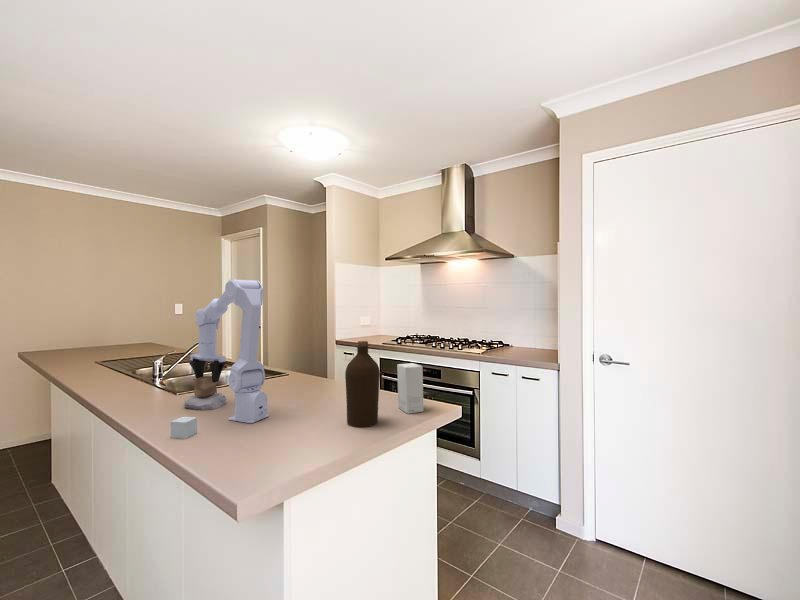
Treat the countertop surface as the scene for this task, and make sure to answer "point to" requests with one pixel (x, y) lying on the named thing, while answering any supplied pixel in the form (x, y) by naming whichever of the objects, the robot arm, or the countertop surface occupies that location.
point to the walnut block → (204, 386)
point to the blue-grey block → (183, 427)
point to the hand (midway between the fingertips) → (207, 381)
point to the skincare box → (410, 388)
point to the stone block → (205, 402)
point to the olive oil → (362, 388)
